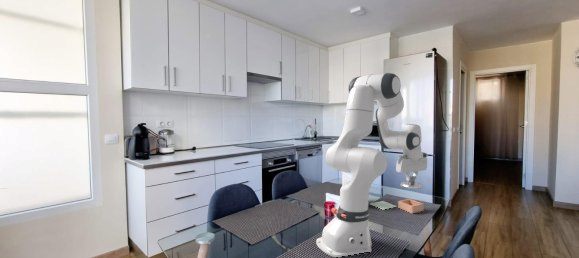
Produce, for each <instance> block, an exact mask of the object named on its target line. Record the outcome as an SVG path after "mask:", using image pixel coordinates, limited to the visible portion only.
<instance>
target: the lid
mask: <svg viewBox="0 0 579 258" xmlns="http://www.w3.org/2000/svg"><path fill="white" fill-rule="evenodd" d="M409 176H410V177H411V180H410V181H408V180H407V181H402V182H399V183H400V187H402V188H405V189H409V190H420V189H423V188H424V185H423V184H422V183H420V182H415V181H416V180H415V177H413V175H409Z"/></svg>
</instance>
